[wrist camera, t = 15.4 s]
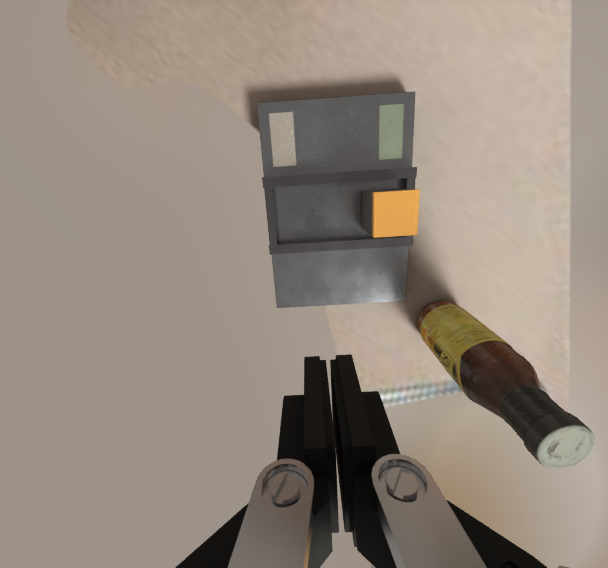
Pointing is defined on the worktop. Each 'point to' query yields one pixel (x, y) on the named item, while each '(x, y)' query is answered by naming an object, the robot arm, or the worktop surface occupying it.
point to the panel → (335, 196)
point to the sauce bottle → (503, 384)
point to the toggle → (390, 212)
